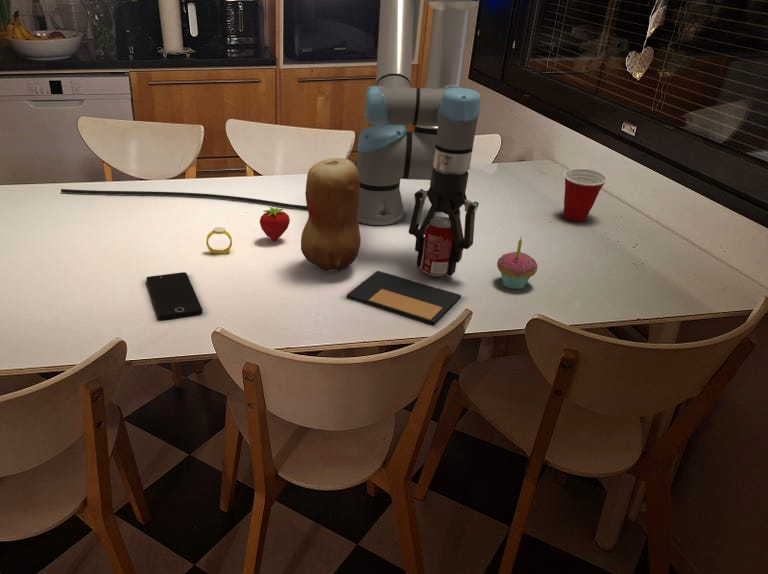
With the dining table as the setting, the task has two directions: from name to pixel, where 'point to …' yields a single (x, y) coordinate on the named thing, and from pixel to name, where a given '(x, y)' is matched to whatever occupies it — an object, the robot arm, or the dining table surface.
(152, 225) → the dining table surface
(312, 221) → the butternut squash
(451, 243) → the soda can
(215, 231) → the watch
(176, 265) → the dining table surface
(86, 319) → the dining table surface
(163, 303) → the cell phone
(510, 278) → the cupcake
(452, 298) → the mat
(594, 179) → the plastic cup
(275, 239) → the strawberry
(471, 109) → the robot arm
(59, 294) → the dining table surface
